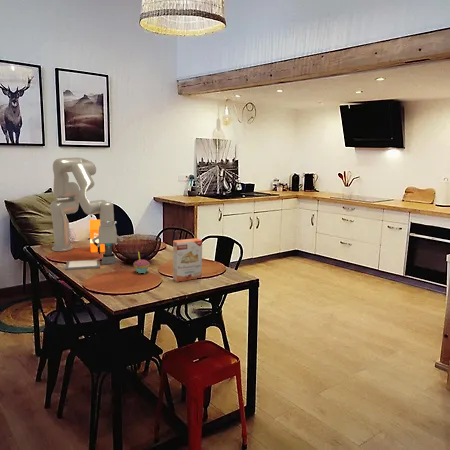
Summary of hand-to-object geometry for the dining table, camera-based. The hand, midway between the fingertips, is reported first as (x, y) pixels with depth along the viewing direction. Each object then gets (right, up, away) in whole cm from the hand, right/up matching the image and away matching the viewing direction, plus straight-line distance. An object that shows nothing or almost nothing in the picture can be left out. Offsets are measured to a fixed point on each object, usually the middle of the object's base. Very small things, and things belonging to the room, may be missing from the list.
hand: (108, 252), depth 250 cm
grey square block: (0, -6, +1) cm, 6 cm away
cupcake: (+22, -10, -15) cm, 28 cm away
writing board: (-13, -7, -4) cm, 15 cm away
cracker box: (+48, -12, -24) cm, 55 cm away
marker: (0, -5, +1) cm, 5 cm away
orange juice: (-13, 0, +26) cm, 29 cm away
